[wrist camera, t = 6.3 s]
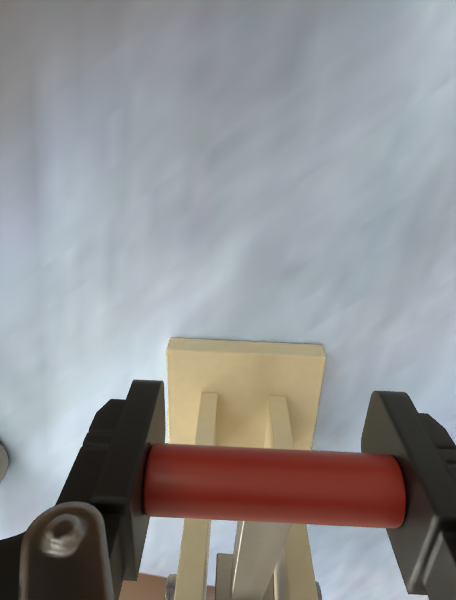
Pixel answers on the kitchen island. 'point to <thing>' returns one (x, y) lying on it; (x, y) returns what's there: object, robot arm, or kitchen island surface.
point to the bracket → (243, 435)
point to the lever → (269, 500)
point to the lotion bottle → (3, 462)
